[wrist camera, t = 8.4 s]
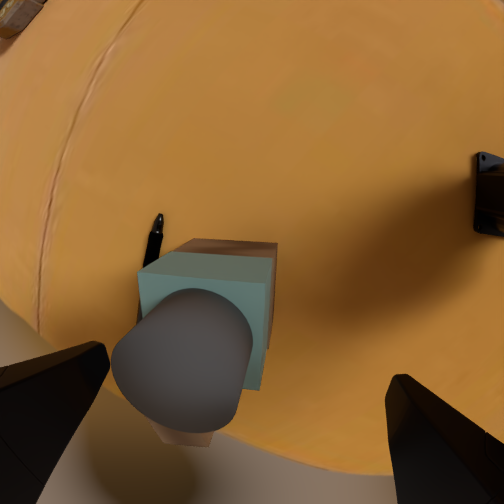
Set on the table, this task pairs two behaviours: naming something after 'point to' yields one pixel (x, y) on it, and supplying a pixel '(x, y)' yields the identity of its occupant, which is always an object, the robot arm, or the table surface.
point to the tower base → (238, 250)
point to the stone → (186, 361)
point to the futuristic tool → (17, 15)
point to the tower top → (221, 282)
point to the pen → (152, 251)
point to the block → (181, 436)
